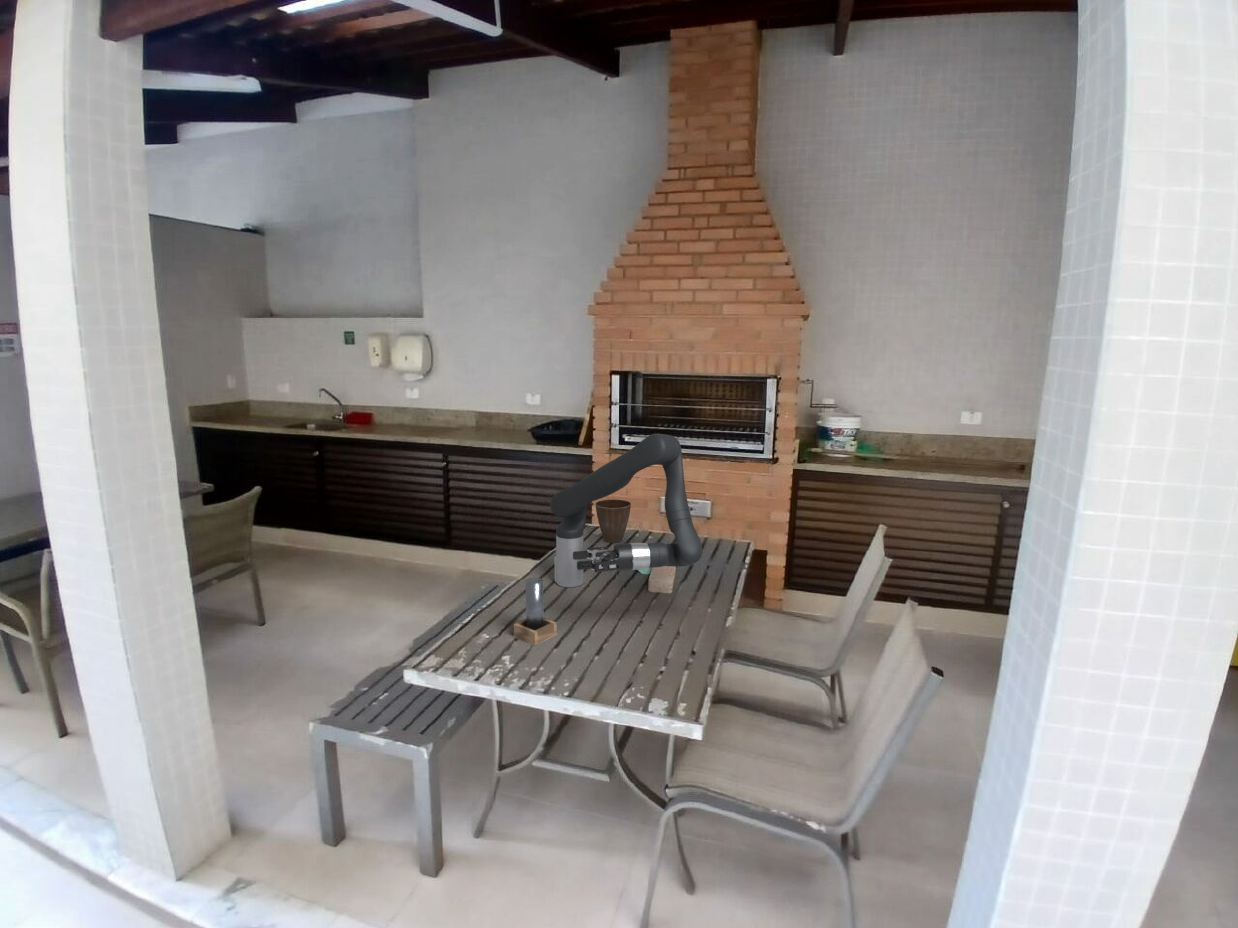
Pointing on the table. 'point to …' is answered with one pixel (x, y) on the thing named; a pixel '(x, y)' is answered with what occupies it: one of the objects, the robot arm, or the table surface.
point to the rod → (534, 603)
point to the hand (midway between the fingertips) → (574, 560)
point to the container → (645, 571)
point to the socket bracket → (535, 632)
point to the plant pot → (613, 518)
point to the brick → (662, 579)
